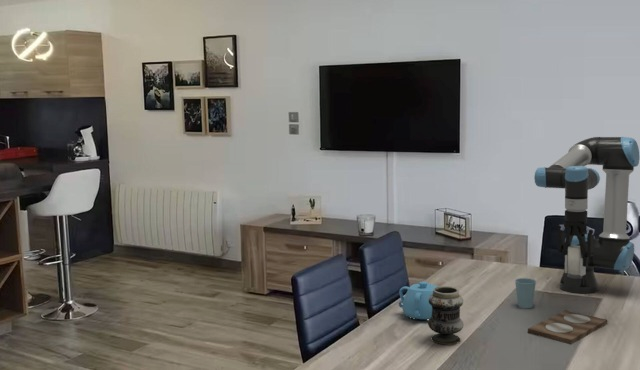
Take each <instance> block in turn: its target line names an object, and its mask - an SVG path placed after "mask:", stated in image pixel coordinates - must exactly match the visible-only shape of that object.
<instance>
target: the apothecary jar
mask: <svg viewBox="0 0 640 370" xmlns="http://www.w3.org/2000/svg"><path fill="white" fill-rule="evenodd" d="M429 304H430V305H431V306H432V317H431V318H430V319H429V321H427V325H428V327H429V328H430V330H431V331H433V332H434V333H436V334H433V335H432V336H431V338H432V339H431V341H432V340H433V341H434V342H433V341H432V342H433V343H435V342H437V343H436V344H438V343H439V345H445V344H451V345H455V344H457V343H458V341H459V342H461V338H460V337H459V336H458V335H456V334H457V333H459V332H461V331H462V329H463V328H464V321H463V320H462V319H461V307H462V306H463V304H464V298H463V297H462V295H460V294H459V289H458V288H457V287H453V286H449V285H440V286H437V287H436V288H434V290H433V294H432V295H431V296H430V297H429Z"/></svg>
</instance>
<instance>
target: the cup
mask: <svg viewBox="0 0 640 370" xmlns="http://www.w3.org/2000/svg"><path fill="white" fill-rule="evenodd" d="M514 283H515V291H516V298H517V300H516V301H517V306H518V307H519V308H521V309H531V308H533V306H534V297H535V290H536V283H537V282H536V280H535V279H532V278H528V277H527V278H526V277H525V278H524V277H523V278H522V277H521V278H516V279H515V281H514Z"/></svg>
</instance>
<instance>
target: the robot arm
mask: <svg viewBox="0 0 640 370" xmlns="http://www.w3.org/2000/svg"><path fill="white" fill-rule="evenodd" d="M639 148H640V147H639V145H638V143H637V141H636V139H635V138H633V137H629V136H628V137H626V136H593V137H590V138H589V137H588V138H587V139H584V140H581V141H579V142H577V143H575V144H573V145H572V146H571V147H569V149H568V152H566V154H565V155H563V156H561V157H560V158H559V159H558V160H556V161H555V162H554V163H552V164H551V165H550V166H548V167H545V166H544V167H538V168H536V170H535V171H534V184H535V185H536V186H537V187H539V188H544V189H548V188H549V189H564V191H565V192H564V209H565V210H564V222H563V224H559V225H556V229H557V252H558V253H561V254H562V263H563V264H564V266H563V267H564V269H563V272H562V275H561V278H560V281H559V288H560V289H561V290H562V291H565V292H569V293H574V294H591V293H596V292H598V291H599V289H598V288H599V287H598V286H599V284H598V280H597V278H596V274H595V270H594V268H602V269H609V270H614V271H617V270H618V271H626V270H627V269H628V268H629V267H630V266H631V264H632V262H633V259H634V255H635V244H634V243H633V242H632V241H631V238H630V236H629V235H628V234H627V222H628V221H627V220H628V203H629V185H630V184H629V183H630V175H631V174H632V173H633V172H634V170H635V167H638V166H639V164H640V149H639ZM587 165H589V166H590V165H593V166H596V165H597V166H602V171H603V172H604V173H605V175H606V176H605V189H604V190H605V191H604V192H605V193H604V211H603V212H604V213H603V214H604V215H603V231H602V232H601V233H600V234H599V235H598V238H596V237H595V234H596V228H591V227H590V226H589V225H588V203H589V202H588V200H589V199H588V197H589V195H588V193H589V190H591V189H594V188H596V187H597V186H598V184H599V183H600V180H601V177H600V173H599V172H598V171H597V170H596V169H594V168H592V167H589V168H588V167H587ZM565 230H566V231H567V232H566V234H565ZM585 232H586V233H585ZM568 246H580V249H581V253H582V257H581V258H580V276H582V278H581V279H572V278H569V277H568Z"/></svg>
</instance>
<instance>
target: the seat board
mask: <svg viewBox="0 0 640 370" xmlns="http://www.w3.org/2000/svg"><path fill="white" fill-rule="evenodd" d="M606 325H608V319H606V318H602V317H597V316H593V315H589V314H584V313H579V312H574V311H569V310H566V309H565V310H563V311H561V312H560V313H556V314H555V315H553V316H551V317H549V318H547V319H544V320H542V321H541V322H539V323H537V324H535V325H532V326H530V327H529V328H527V333H528V334H531V335H534V336H539V337H542V338H547V339H550V340H554V341H556V342H557V341H558V342H562V343H564V344H565V343H566V344H569V345H572V344H574V343H576V342H578V341H579V340H581V339H583V338H585V337H586V336H588V335H590V334H592V333H594V332H596V331H597V330H599V329H600V328H602V326H603V327H604V326H606Z"/></svg>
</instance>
